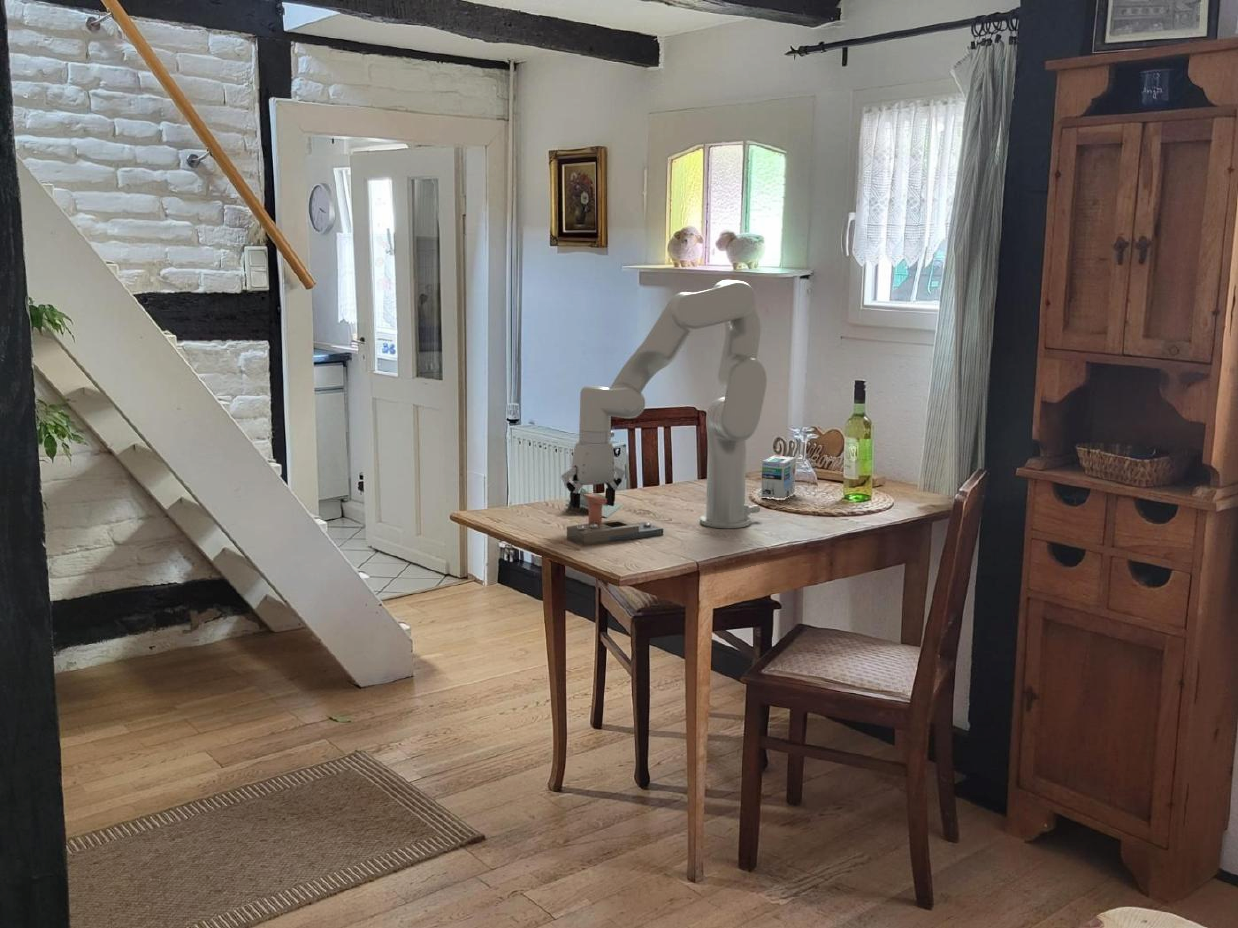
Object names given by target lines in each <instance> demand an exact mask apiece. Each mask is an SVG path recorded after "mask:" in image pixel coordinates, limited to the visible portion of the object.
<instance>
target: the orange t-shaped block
mask: <svg viewBox="0 0 1238 928" xmlns="http://www.w3.org/2000/svg"><path fill="white" fill-rule="evenodd" d="M584 499H586V500H589V509H588V524H589V523H596V522H603V521H602V520H603V519H602V518H603V517H602V503H607V499H606V498H603V497H601V496H598V495H595V494H584Z"/></svg>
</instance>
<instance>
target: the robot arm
mask: <svg viewBox="0 0 1238 928" xmlns="http://www.w3.org/2000/svg"><path fill="white" fill-rule="evenodd" d="M756 303H757V295H756V291H755V289H754V288H753V287H752V286H751V285H750V284H749V283H748V282H745V281H741V280H732V279H725V280H724V279H723V280H721V281H719V282H717V283H715V284H714V286H713V287H712V288H710V289H706V290H702V291H697V292H687V291H683V292H679V293H675V295H673V296H672V298H670V299H669V301H668V302H667V304H666V305H665V307H664V308H663V310H662V312H661V313H660V315H659V317H658V318H657V320H656V321H655V323H654V325H653V326H652V328H651V329H650V331H649V333H648V334H647V335H646V337H645V338H644V340H643V341H642V343H641V344H640V345H639V347H637V349H636V350H635V351H634V353H633V354H632V355H631V356H630V357H629V359H628V360H627V361H626V362H625V364H624V365H623V366H622V368H621V369H620V371H619V372H618V374H617V376H616V377H615V379H614V381H613V382H612V384H611V385H610V386H609V387H607V386H603V385H587V386H583V387H582V389H581V390H580V394H579V395H580V396H579V425H578V426H579V427H578V428H579V431H578V442H575V445H574V449H573V453H572V459H571V460H572V461H571V468H570V469H569V470H567V471H565V472H564V473H563V474H561V476H560V478H561V480H562V482H563V485H564V487H565V488H566V490H568V491H569V497H570V504H571V507H572V508H571V509H574V510H576V511H577V510H580V508H581V506H580V493H578V492H580V490H581V489H582V487H583V486H589V485H590V486H593V485H602V484H605V485H606V486H607V487H606V488H605V492H604V493H605V494H604V496H605V498H606V499H607V503H605V504H607V505H610V506H614V502H616V491H617V490H618V487H619V486H620V484H621V483H622V482H623V480H622V479H623V478H624V476H625V474H626V472H625V470H624V469H622V468H620V467H617V466H616V465H615V453H614V447H613V443H612V442H611V439H612V438H614V437H615V432H614V431H612V430H611V424H612V423H611V422H612V421H611V420H612V417H615V418H620V419H621V418H622V419H623V418H624V419H635V418H637V417H639V416H640V415H641V414H642V413H643V412H644V410H645V408H646V399H645V397H644V395H643V393H642V392H643V391H644V390H645V388H646V386H647V385H648V383H649V382H650V380H651V379H652V378H653V377H654V376H655V375H656V374H657V373H659V371H661V370H663V369H664V368H666V367H668V366H670V364H671V363H672V362H673V361H674V360H675V359H676V357H677V356H678V354H679V352H680V351H681V349H682V348H683V345H684V344H685V343H686V341H687V340H688V338H689V336H690V335H691V333H692V332H693V330H700V329H705V328H709V327H713V326H717V325H719V324H720V325H721V324H723V323H724V328H725V329H724V330H725V332H724V333H725V334H724V340H723V341H724V342H723V346H722V352H721V358H720V361H719V362H720V363H719V367H718V372H717V379H718V383H719V384H720V386H721V387H722V388H723V389H725V394H724V395H725V396H722V397H719V398H716V399H715V400H713V401H712V402H711V403H710V405H709V406H708V409H707V411H706V417H705V427H706V438H707V462H706V465H707V466H706V502H705V503H706V508H705V509H706V510H705V511H706V512H705V514H703V515H701V516H700V518H699V523H700V524H702V525H704V526H707V527H709V528H716V529H738V528H739V529H740V528H743V527H748V526H749V525H751V518H750V517H749V515H750V514H758V513H759V512H761V511H760V510H761V509H760V506H759V505H758V504H755V505H750V506H749V504H747V503H745V502H746V501H745V500H746V474H747V473H746V472H747V471H746V467H747V466H746V465H747V440H749V439H750V438H751V437H752V436H753V435H754V434H755V433H756V431H757V429H758V426H759V424H760V419H761V414H762V410H763V405H764V400H765V394H766V388H767V382H768V379H767V372H766V368H765V367H764V365H763V364H762V363H761V361H759V360H758V353H759V346H760V340H761V332H762V331H761V321H760V320H761V319H760V315H759V313H758V311H757V309H756V305H757V304H756ZM615 473H616V477H615ZM571 481H572V482H571ZM570 492H571V493H570Z"/></svg>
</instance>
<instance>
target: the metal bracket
mask: <svg viewBox="0 0 1238 928" xmlns="http://www.w3.org/2000/svg"><path fill="white" fill-rule="evenodd" d="M570 493H571V492H570V491H569V494H570ZM578 493H580V508H581V507H582V508H585V509H586V510H589V500H586V499H584V494H595V495H598V496H601V497H603V498H605V495H602V494H600V493H597V492H596V493H595V492H589V491H587V489H586V488H582V487H581V489H580V490H579V491H578ZM565 502H568V503H565V507H567V509H566V511H568V510H570V509H573V508H572V507H571V504H570V496H568V498H566V499H565ZM623 507H624V506H623V504H621V503H618V502H616V501H614V506H610V505H607V504H605V503H602V518H604V519H609V517H611V516H612V515H613V514H615V512H617V511H618V510H619V509H622V508H623Z"/></svg>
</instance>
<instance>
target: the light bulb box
mask: <svg viewBox="0 0 1238 928" xmlns="http://www.w3.org/2000/svg"><path fill="white" fill-rule="evenodd" d="M796 458H797V457H796V456H795V457H793V456H783V455H782V456H781V455H776V454H775V455H772V456H770V457H768V458H766V459H764V460H762V462H761V464H762V465H761V490H760V491H761V492H760V493H761V494H760V498H761V497H774V498H785V497H788V496H790V495H791V494H793V493H794V492H795V488H796V487H795V486H796V466H797V465H796V463H797V462H796V461H797V459H796Z"/></svg>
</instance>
